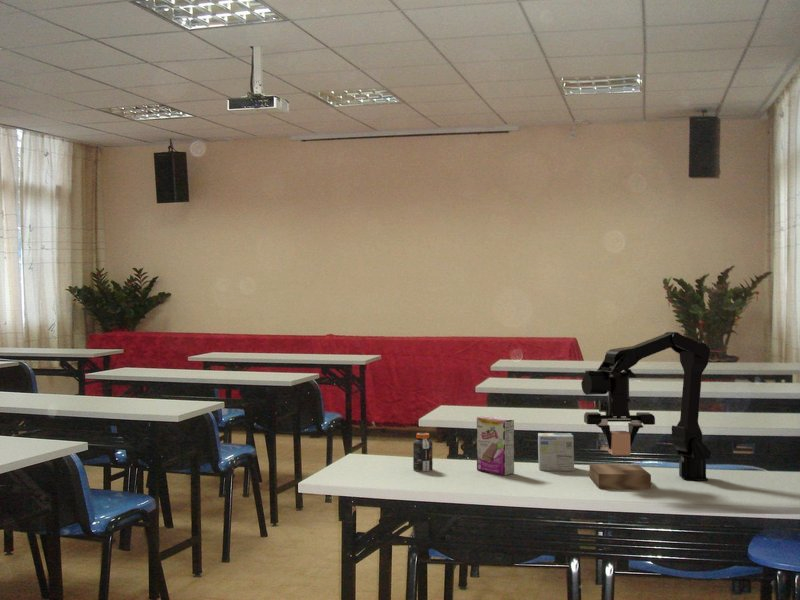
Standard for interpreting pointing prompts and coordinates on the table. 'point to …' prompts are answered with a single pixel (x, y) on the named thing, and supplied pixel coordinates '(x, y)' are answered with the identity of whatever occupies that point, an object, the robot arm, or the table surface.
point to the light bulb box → (556, 451)
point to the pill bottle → (422, 453)
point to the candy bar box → (495, 445)
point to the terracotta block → (620, 443)
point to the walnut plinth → (619, 476)
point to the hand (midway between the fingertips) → (619, 449)
